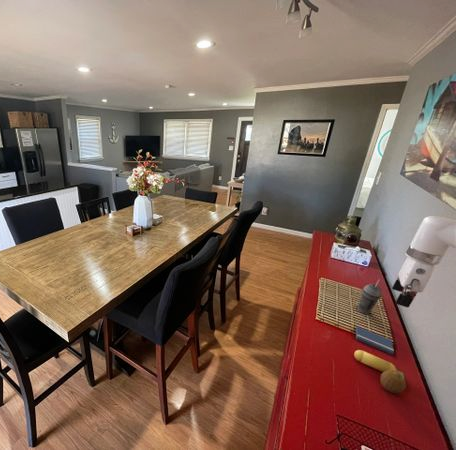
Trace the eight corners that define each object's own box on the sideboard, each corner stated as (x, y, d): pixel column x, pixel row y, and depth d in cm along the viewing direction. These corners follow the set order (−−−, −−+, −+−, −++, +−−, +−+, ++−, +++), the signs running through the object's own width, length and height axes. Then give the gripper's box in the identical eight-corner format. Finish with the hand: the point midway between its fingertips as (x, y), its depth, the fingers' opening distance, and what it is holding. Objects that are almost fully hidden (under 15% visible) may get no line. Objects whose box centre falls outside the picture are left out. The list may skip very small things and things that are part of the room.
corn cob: (401, 375, 90) (406, 367, 88) (402, 384, 87) (408, 376, 85) (352, 353, 98) (356, 345, 96) (352, 360, 95) (356, 352, 93)
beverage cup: (371, 309, 122) (387, 277, 115) (373, 318, 117) (391, 284, 109) (353, 303, 126) (368, 272, 118) (355, 312, 120) (370, 279, 112)
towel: (390, 342, 104) (392, 339, 103) (392, 354, 98) (394, 352, 97) (356, 328, 110) (357, 325, 110) (356, 339, 105) (357, 336, 104)
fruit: (374, 377, 89) (383, 362, 86) (396, 386, 86) (406, 371, 83) (378, 391, 84) (388, 376, 81) (402, 401, 81) (413, 386, 78)
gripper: (448, 271, 67) (419, 317, 74) (433, 248, 80) (410, 289, 87) (412, 261, 71) (387, 306, 78) (403, 241, 84) (383, 281, 91)
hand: (399, 297), depth 82 cm, fingers open, 9 cm apart
